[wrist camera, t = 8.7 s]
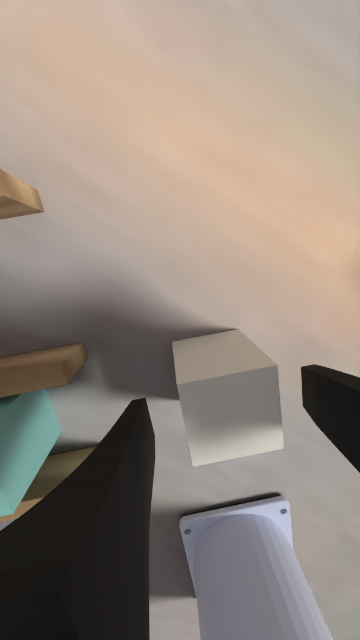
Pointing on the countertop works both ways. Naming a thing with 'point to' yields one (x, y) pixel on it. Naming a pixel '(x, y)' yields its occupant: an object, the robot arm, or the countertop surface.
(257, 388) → the white rectangular block
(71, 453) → the rack
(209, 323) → the countertop surface
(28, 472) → the teal plug block
